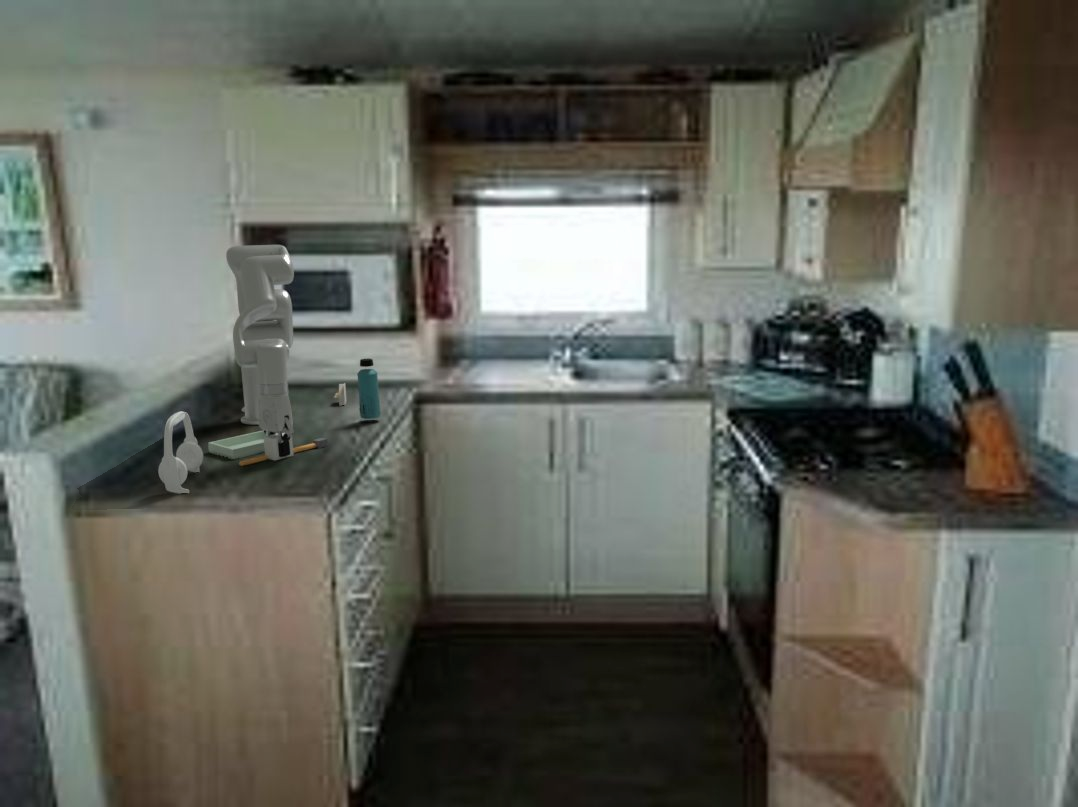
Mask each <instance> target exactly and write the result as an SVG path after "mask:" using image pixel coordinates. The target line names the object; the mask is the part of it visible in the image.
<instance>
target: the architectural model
mask: <svg viewBox="0 0 1078 807" xmlns="http://www.w3.org/2000/svg"><path fill="white" fill-rule="evenodd" d="M333 398H334V399H336V398H338V405H339V407H343V406H342V405H345V404H346V405H347V403H346V402H348V401H347V387H346V382H344V383H339V384H338V392H336V393H335V394H334V396H333ZM346 405H345V406H346Z"/></svg>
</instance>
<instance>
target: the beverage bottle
mask: <svg viewBox="0 0 1078 807" xmlns="http://www.w3.org/2000/svg"><path fill="white" fill-rule="evenodd" d="M359 366H360V367H366V368H363V369H360V370H359V371H358V372H357V373H356V376H357V388H358V399H359V401H358V404H359V416H360V418H361V419H363V420H373V419H378V418H380V416H381V404H380V403H381V402H380V399H381V398H380V392H379V379H378V371H377V370H375V369H374V368H367V367H373V366H374V360H373V358H361V359H360V360H359Z"/></svg>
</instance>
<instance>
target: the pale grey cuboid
mask: <svg viewBox="0 0 1078 807" xmlns="http://www.w3.org/2000/svg"><path fill="white" fill-rule="evenodd" d="M284 434H285V433H282V436H283V435H284ZM263 438H264V449H265V452H264V455H266V456H267V457H268V458H267V460H272V461H278V460H282V459H285V458H290V457H294V453H293V448H294V445H293V435H292V436H291V438H290V441H289V444H290V455H288V456H284V457H279V448H278V443H280V442H279V437H278V433H277V434H272V435H268V436H264V437H263Z"/></svg>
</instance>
